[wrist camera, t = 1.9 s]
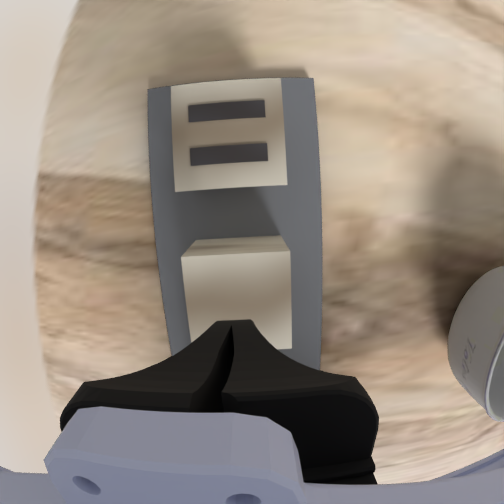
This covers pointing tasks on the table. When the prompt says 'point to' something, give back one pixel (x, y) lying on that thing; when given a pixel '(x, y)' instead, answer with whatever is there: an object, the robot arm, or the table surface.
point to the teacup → (481, 342)
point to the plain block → (240, 285)
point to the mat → (244, 217)
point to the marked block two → (228, 134)
